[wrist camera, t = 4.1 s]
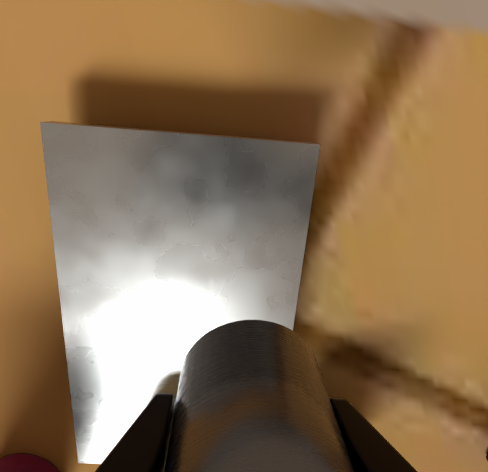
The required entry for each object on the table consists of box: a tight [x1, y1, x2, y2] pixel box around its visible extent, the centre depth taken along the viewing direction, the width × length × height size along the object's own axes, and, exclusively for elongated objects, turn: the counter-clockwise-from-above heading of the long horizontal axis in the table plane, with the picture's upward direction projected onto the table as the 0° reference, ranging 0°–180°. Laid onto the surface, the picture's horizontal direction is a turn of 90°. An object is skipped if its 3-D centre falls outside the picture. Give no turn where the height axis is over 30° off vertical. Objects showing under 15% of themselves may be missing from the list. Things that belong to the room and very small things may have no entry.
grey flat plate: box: [40, 121, 320, 464], centre depth 20 cm, size 12×20×2 cm, turn 176°
